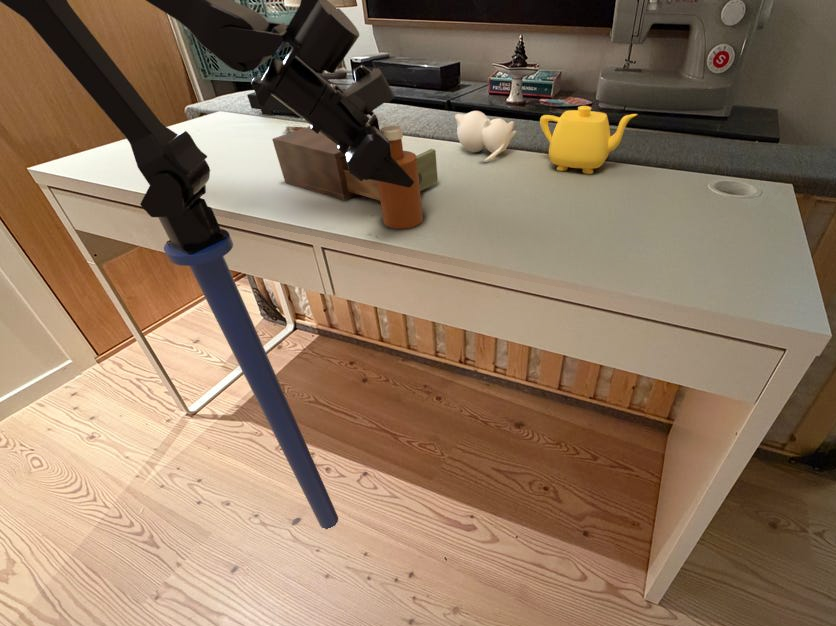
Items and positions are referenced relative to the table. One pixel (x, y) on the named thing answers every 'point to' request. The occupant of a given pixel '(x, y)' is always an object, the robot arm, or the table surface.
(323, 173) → the cabinet
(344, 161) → the drawer
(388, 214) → the bottle
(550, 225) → the table surface
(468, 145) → the cat figurine
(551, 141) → the teapot
